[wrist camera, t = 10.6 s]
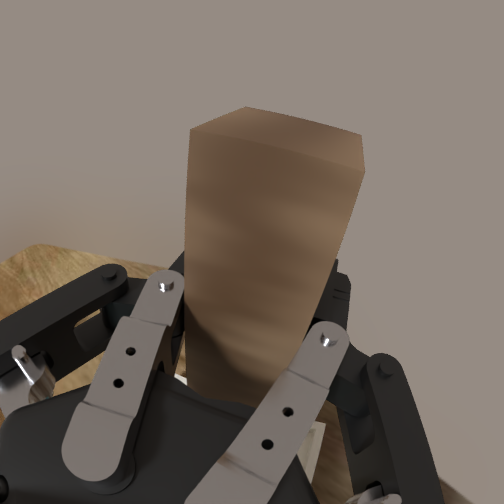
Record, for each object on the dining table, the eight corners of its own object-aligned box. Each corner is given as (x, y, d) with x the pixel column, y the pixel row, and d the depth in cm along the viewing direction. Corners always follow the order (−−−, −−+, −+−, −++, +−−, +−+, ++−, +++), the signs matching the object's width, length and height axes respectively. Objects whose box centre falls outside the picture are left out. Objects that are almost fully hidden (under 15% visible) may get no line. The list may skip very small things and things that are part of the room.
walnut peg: (253, 433, 21) (361, 135, 8) (238, 472, 18) (364, 172, 6) (209, 418, 22) (245, 106, 9) (192, 455, 19) (190, 129, 6)
